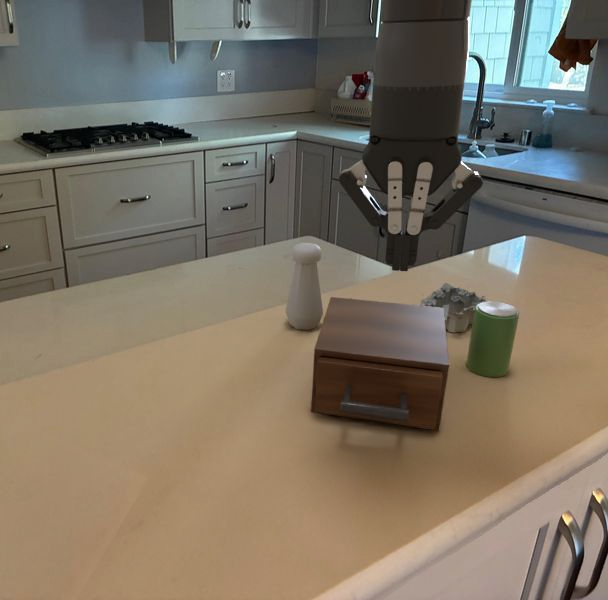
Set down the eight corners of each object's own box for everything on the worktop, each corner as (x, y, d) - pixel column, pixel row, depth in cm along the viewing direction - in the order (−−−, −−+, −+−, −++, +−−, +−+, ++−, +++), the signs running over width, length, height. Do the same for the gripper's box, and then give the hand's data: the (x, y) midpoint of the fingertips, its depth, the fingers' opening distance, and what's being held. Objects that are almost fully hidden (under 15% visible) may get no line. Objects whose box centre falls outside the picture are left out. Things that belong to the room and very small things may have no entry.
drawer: (436, 455, 65) (444, 400, 62) (308, 435, 68) (311, 382, 66) (432, 366, 81) (438, 320, 79) (330, 354, 85) (332, 309, 83)
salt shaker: (296, 313, 100) (299, 236, 95) (328, 321, 97) (333, 243, 92) (278, 326, 96) (280, 247, 90) (311, 335, 93) (315, 254, 87)
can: (505, 360, 84) (516, 302, 81) (510, 379, 80) (522, 318, 76) (464, 356, 86) (474, 298, 82) (467, 374, 81) (477, 314, 78)
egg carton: (460, 337, 91) (464, 312, 89) (413, 322, 96) (416, 298, 94) (488, 313, 98) (492, 289, 96) (442, 301, 103) (445, 278, 101)
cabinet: (439, 430, 70) (449, 365, 67) (311, 411, 74) (314, 348, 71) (435, 365, 84) (443, 307, 80) (327, 352, 88) (330, 296, 84)
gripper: (335, 84, 51) (326, 277, 58) (508, 81, 48) (477, 288, 55) (343, 77, 58) (334, 251, 65) (496, 74, 54) (469, 259, 61)
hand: (400, 268), depth 60 cm, fingers closed
